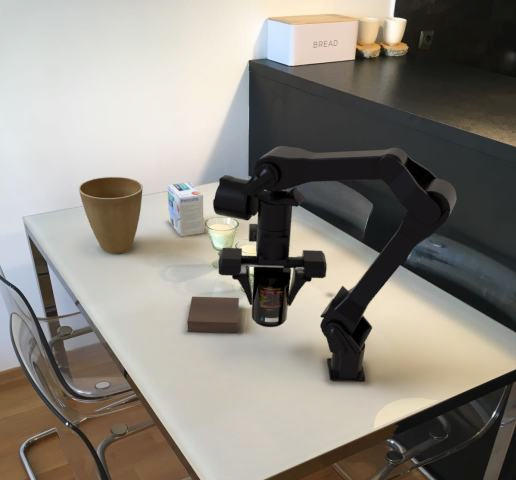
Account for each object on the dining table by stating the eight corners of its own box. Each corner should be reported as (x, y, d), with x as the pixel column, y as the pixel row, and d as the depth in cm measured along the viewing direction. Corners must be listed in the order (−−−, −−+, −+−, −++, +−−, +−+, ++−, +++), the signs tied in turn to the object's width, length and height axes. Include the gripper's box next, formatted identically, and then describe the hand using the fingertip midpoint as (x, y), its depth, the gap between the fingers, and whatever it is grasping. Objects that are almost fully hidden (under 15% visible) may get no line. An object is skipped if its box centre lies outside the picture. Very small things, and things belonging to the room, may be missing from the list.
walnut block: (237, 333, 120) (237, 322, 119) (187, 331, 120) (187, 321, 119) (238, 307, 129) (238, 297, 127) (192, 306, 129) (191, 296, 127)
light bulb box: (168, 222, 166) (166, 184, 160) (191, 218, 168) (190, 181, 162) (181, 237, 158) (179, 197, 152) (204, 233, 160) (204, 194, 154)
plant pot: (89, 263, 144) (80, 200, 135) (86, 238, 155) (77, 178, 146) (151, 257, 147) (146, 195, 138) (143, 233, 159) (138, 174, 150)
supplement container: (281, 308, 115) (285, 259, 109) (291, 327, 110) (295, 277, 104) (247, 311, 114) (249, 261, 108) (255, 330, 108) (258, 279, 103)
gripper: (324, 208, 108) (317, 284, 117) (221, 205, 108) (221, 281, 117) (330, 234, 99) (322, 314, 108) (218, 230, 99) (218, 311, 107)
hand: (270, 304), depth 110 cm, fingers closed on supplement container, 7 cm apart
